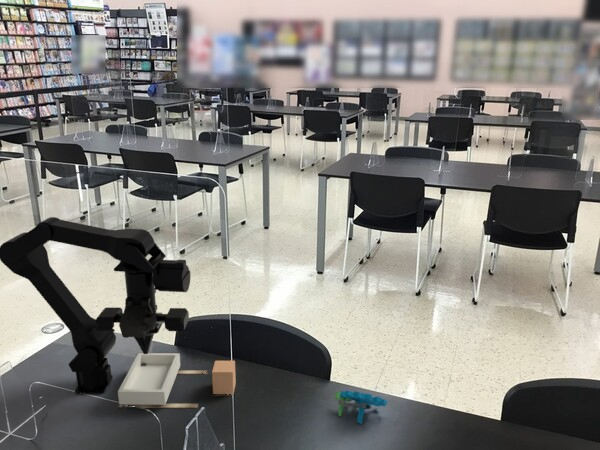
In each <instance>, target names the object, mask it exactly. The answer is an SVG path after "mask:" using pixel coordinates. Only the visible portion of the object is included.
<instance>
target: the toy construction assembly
mask: <svg viewBox="0 0 600 450" xmlns="http://www.w3.org/2000/svg"><path fill="white" fill-rule="evenodd" d="M334 399H336V400H338V401H337V404H338V405H339V407H338V408H339V409H338V413H337V416H338V417H342V415H343V411H344V406H347V407H353V408H358V415H357V421H356V424H363V421H364V420H363V418H364V413H365V412H364V411H365V409H366V408H367V406H374V407H375V406H376V407H386V405H388V404H387V403H388V400H386V399H383V397H381V396H375V397H374V396H373V395H372V394H370V393H363V392H362V393H361V392H360V391H350V390H345V391H342V390H341V391H340V392H339V391H335V396H334ZM352 401H354V402H355V403H353V402H352Z"/></svg>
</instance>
